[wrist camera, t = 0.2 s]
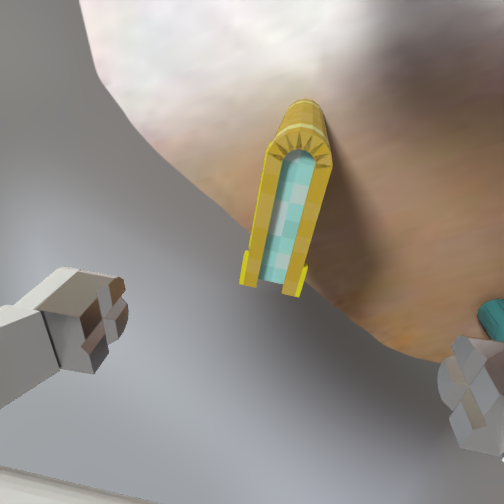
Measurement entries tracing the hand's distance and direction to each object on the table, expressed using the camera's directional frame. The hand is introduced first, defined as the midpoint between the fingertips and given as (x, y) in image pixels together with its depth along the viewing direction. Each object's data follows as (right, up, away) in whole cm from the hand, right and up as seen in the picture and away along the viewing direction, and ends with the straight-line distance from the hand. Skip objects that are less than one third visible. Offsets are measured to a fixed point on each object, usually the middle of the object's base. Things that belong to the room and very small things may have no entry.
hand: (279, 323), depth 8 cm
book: (+6, +17, +45) cm, 49 cm away
